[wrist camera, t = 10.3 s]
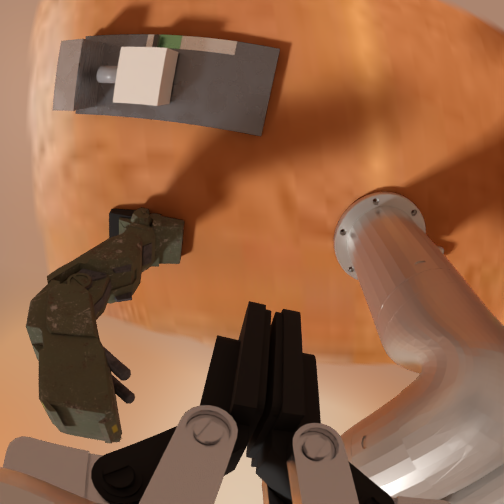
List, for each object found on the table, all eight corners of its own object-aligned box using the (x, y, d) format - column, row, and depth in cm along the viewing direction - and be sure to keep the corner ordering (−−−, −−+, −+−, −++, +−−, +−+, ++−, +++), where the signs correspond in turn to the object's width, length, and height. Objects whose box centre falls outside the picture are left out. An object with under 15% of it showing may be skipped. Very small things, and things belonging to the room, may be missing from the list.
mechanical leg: (87, 246, 41) (16, 437, 16) (85, 198, 38) (-22, 383, 13) (180, 253, 45) (185, 461, 19) (185, 206, 41) (189, 415, 16)
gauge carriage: (181, 37, 28) (170, 30, 24) (169, 104, 31) (157, 105, 28) (116, 36, 27) (99, 31, 24) (106, 99, 31) (88, 101, 27)
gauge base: (279, 50, 29) (281, 41, 24) (261, 134, 34) (259, 143, 28) (92, 37, 29) (62, 32, 23) (81, 112, 33) (52, 119, 28)
